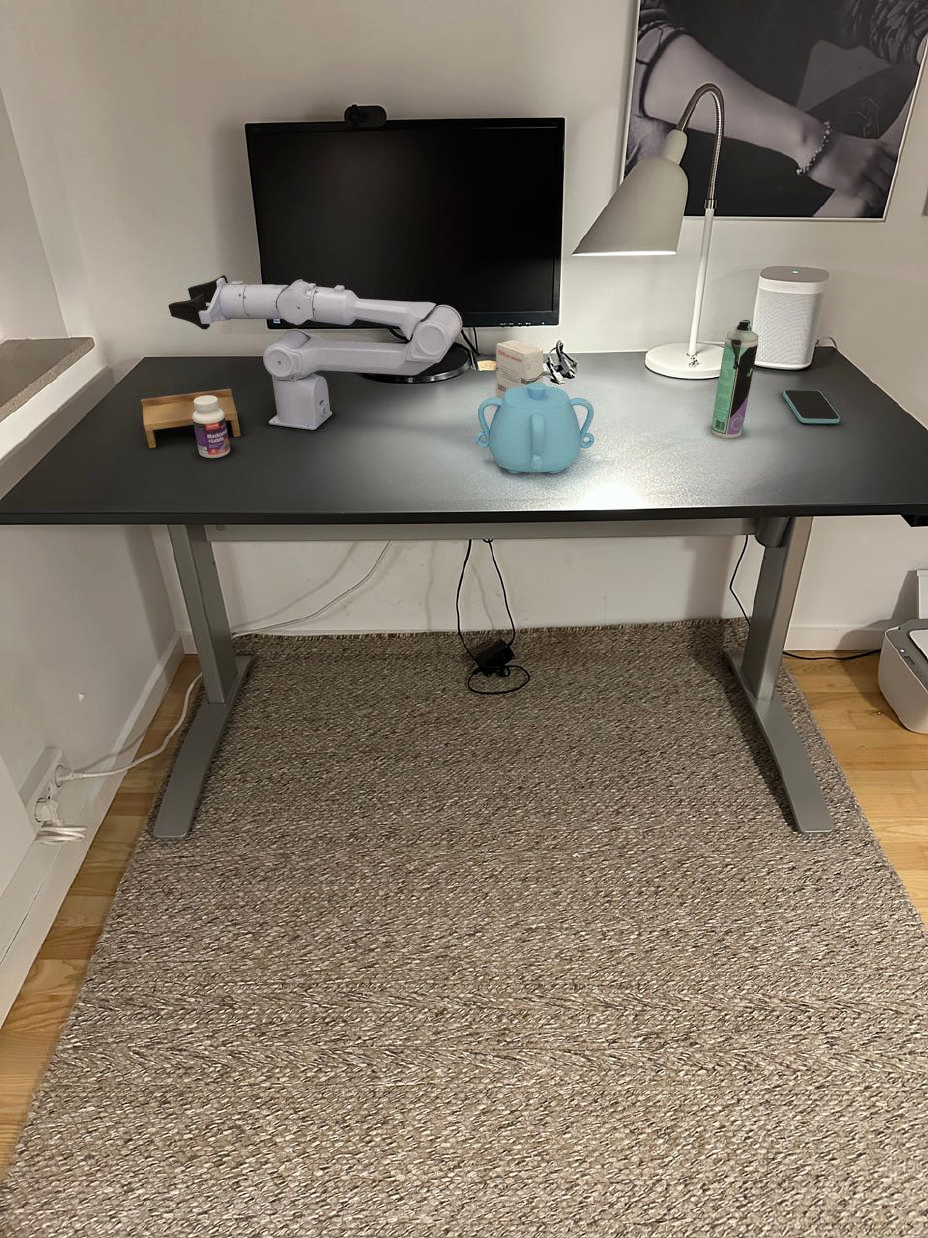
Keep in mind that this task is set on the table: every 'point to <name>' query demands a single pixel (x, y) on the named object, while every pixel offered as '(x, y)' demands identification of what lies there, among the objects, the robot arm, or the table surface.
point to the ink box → (517, 366)
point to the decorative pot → (535, 429)
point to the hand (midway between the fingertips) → (180, 301)
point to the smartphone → (811, 406)
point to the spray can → (734, 381)
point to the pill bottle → (210, 427)
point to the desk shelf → (183, 411)
